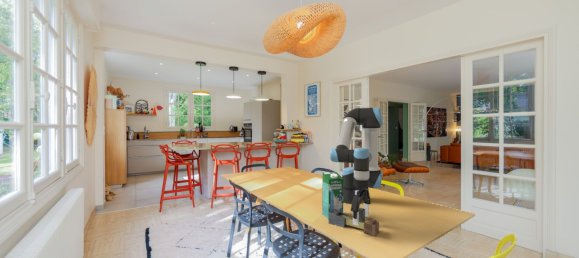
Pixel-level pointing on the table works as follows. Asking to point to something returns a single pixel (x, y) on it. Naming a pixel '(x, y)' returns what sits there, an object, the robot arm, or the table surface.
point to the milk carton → (332, 193)
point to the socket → (371, 227)
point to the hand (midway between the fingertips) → (361, 220)
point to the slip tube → (361, 219)
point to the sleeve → (337, 218)
